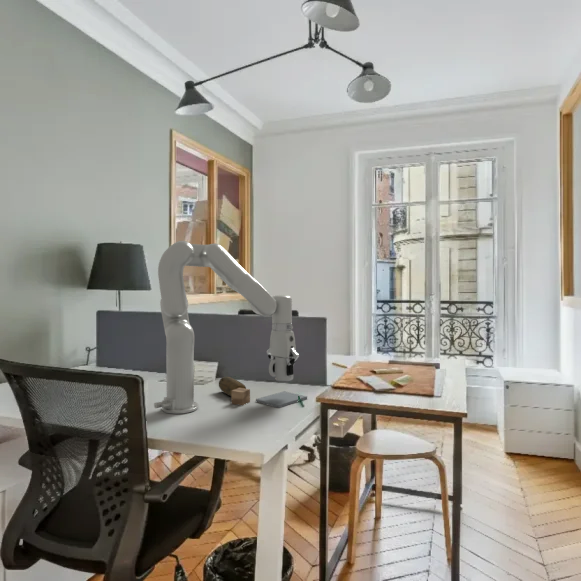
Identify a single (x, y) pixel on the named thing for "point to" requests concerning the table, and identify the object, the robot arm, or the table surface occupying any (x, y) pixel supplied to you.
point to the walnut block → (240, 396)
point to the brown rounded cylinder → (229, 385)
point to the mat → (281, 399)
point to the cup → (280, 369)
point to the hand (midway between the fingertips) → (282, 373)
